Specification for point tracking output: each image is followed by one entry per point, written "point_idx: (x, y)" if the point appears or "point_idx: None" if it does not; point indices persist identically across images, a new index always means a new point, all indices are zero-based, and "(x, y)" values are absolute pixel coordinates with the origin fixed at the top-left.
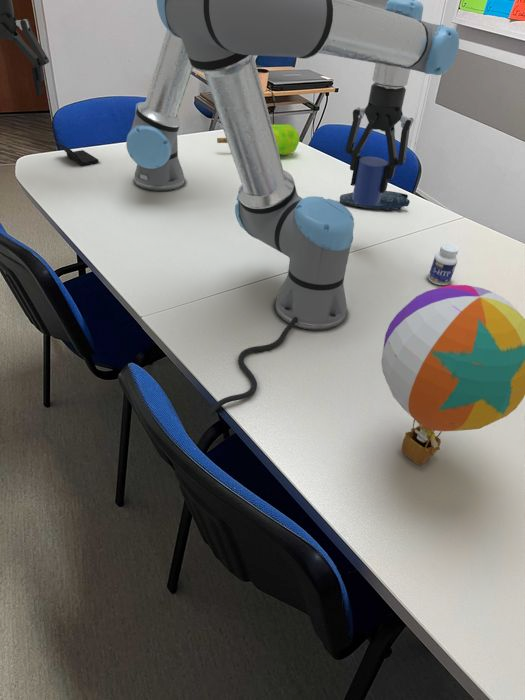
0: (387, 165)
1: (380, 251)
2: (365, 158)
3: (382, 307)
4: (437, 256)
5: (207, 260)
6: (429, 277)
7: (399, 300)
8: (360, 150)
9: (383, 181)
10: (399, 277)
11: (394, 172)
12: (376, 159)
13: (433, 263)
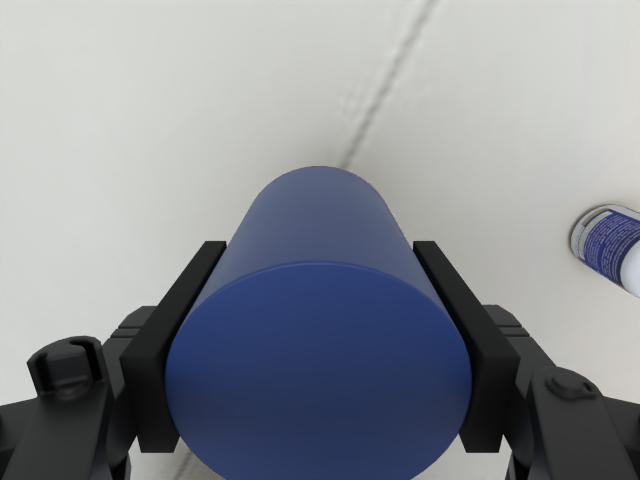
0: (480, 441)
1: (400, 152)
2: (213, 377)
3: None
4: (635, 287)
5: None
6: (576, 254)
7: None
8: (102, 439)
9: None
10: (485, 276)
11: (527, 333)
12: (326, 335)
13: (607, 271)
